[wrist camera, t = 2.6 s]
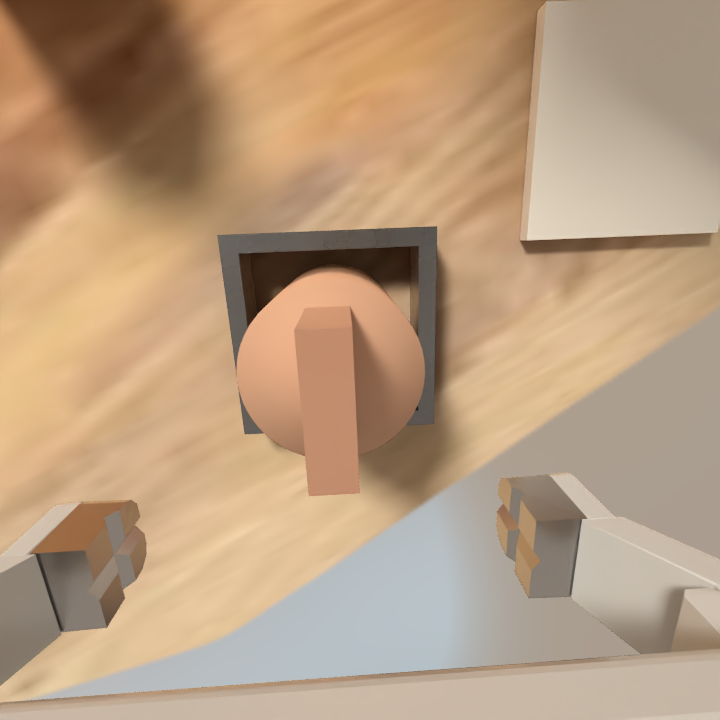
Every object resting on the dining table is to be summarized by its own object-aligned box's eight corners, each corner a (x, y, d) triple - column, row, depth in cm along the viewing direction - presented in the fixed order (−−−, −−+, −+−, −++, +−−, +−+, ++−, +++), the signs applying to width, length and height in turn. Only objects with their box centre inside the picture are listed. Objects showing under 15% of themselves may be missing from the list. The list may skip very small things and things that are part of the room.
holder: (231, 235, 25) (217, 235, 22) (426, 227, 25) (437, 226, 22) (254, 414, 28) (244, 434, 25) (424, 405, 29) (433, 423, 26)
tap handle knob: (268, 267, 25) (187, 302, 12) (394, 261, 26) (452, 290, 12) (280, 385, 28) (224, 525, 14) (395, 379, 28) (445, 511, 15)
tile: (537, 11, 22) (546, 0, 21) (750, 6, 22) (768, -4, 21) (520, 240, 26) (526, 240, 25) (703, 232, 26) (717, 232, 25)
